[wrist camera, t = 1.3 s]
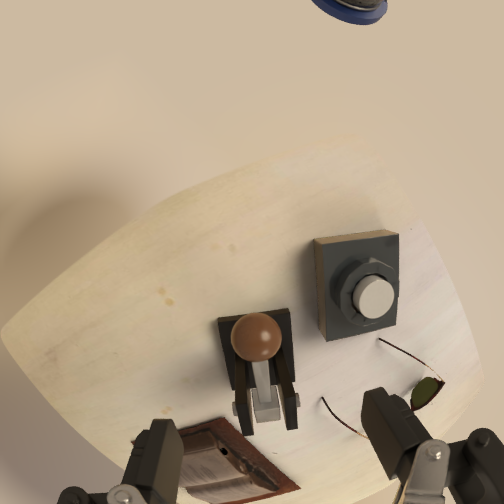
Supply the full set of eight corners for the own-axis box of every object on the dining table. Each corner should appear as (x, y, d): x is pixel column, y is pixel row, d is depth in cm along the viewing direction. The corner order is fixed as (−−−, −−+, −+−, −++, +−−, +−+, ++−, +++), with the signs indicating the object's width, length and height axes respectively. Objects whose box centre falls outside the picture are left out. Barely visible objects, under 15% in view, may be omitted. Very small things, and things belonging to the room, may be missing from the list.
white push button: (352, 278, 26) (359, 284, 24) (386, 272, 26) (394, 277, 25) (352, 315, 27) (358, 322, 25) (385, 307, 27) (393, 314, 25)
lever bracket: (218, 317, 31) (209, 381, 20) (288, 307, 31) (313, 367, 20) (232, 384, 33) (231, 453, 22) (293, 376, 33) (313, 442, 22)
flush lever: (226, 305, 18) (227, 344, 15) (276, 299, 18) (285, 336, 15) (248, 399, 25) (252, 427, 22) (281, 394, 25) (286, 422, 22)
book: (225, 412, 35) (222, 434, 30) (301, 486, 40) (303, 502, 35) (129, 436, 37) (121, 453, 33) (218, 502, 42) (216, 517, 38)
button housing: (313, 238, 30) (327, 247, 25) (385, 229, 30) (408, 236, 25) (318, 329, 32) (331, 350, 27) (384, 314, 32) (403, 331, 28)
